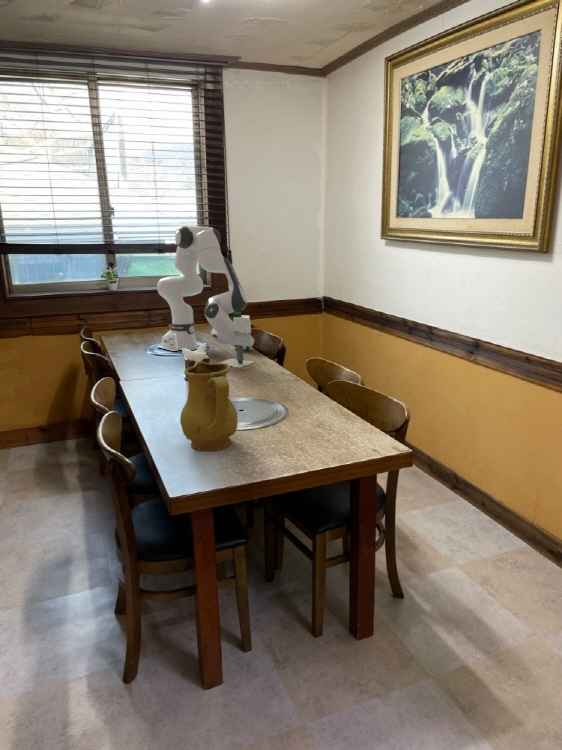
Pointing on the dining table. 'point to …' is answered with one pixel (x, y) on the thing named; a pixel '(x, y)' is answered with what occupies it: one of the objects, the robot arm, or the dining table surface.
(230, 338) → the robot arm
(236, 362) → the paper
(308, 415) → the dining table surface
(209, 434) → the pitcher
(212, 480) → the dining table surface
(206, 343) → the dining table surface
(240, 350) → the marker
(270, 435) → the dining table surface
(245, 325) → the milk carton
